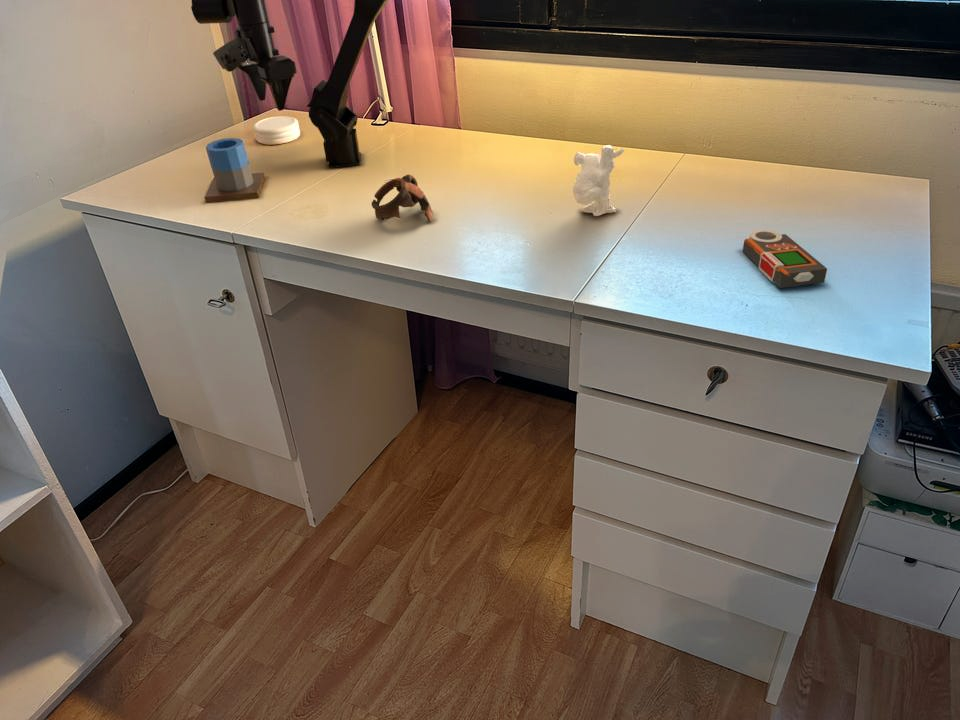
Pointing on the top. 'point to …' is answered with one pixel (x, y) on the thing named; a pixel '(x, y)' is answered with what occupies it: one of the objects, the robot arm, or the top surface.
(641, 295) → the top surface
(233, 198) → the tape stand
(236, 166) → the blue ring
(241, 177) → the grey thick polygonal ring
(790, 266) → the electronic device
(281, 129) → the coaster
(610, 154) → the koala figurine
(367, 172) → the top surface
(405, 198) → the brown looped band
